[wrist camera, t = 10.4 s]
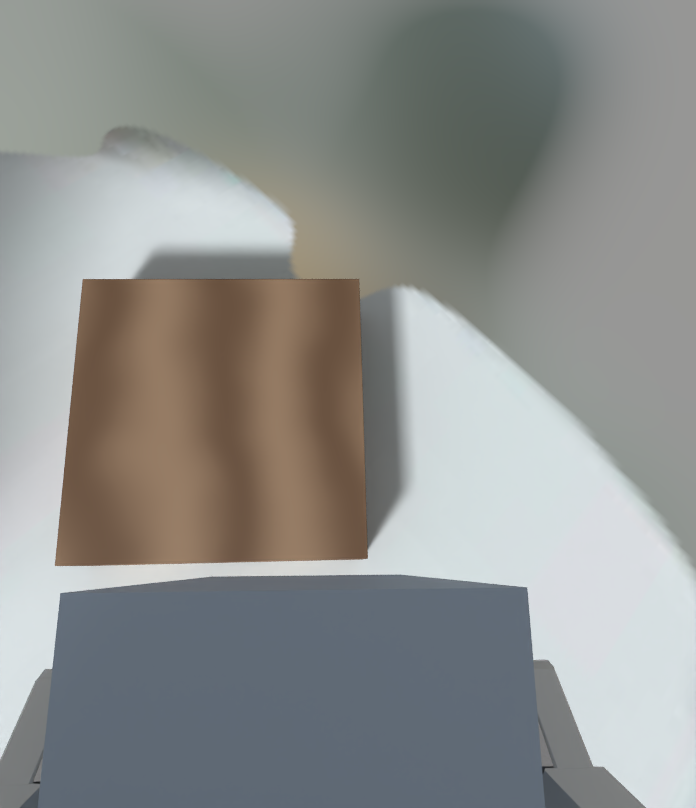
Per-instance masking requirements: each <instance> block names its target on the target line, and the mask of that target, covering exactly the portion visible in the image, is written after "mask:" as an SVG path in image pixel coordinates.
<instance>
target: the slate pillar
mask: <svg viewBox="0 0 696 808" xmlns="http://www.w3.org/2000/svg"><path fill="white" fill-rule="evenodd" d="M38 808H545V798H544V786H543V774H542V762H541V750H540V738H539V725H538V713H537V701H536V689H535V677H534V665H533V652H532V640H531V628H530V616H529V604H528V592H527V587H517V586H507V585H497V584H487V583H477V582H467V581H457V580H448V579H438V578H428V577H418V576H408V575H329V576H237V577H206V578H197V579H187V580H178V581H169V582H160V583H151V584H141V585H132V586H123V587H114V588H105V589H95V590H86V591H77V592H68V593H61V594H60V604H59V613H58V622H57V631H56V641H55V650H54V659H53V669H52V678H51V687H50V697H49V706H48V715H47V724H46V734H45V743H44V752H43V762H42V771H41V780H40V789H39V799H38Z"/></svg>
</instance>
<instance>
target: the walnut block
mask: <svg viewBox="0 0 696 808" xmlns="http://www.w3.org/2000/svg"><path fill="white" fill-rule="evenodd" d="M355 559H368V551H367V519H366V486H365V454H364V421H363V389H362V356H361V323H360V291H359V279H83V283H82V293H81V303H80V313H79V324H78V334H77V344H76V354H75V365H74V375H73V385H72V396H71V406H70V416H69V426H68V437H67V447H66V457H65V467H64V478H63V488H62V498H61V508H60V519H59V529H58V539H57V549H56V560H55V566H102V565H145V564H187V563H229V562H271V561H313V560H355Z"/></svg>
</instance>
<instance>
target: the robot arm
mask: <svg viewBox="0 0 696 808" xmlns="http://www.w3.org/2000/svg"><path fill="white" fill-rule="evenodd" d="M533 665H534V677H535V689H536V701H537V713H538V725H539V738H540V750H541V762H542V774H543V786H544V798H545V808H646V807H645V806H644V805H643V804H641V803H640V802H639V801H638V800H637V799H636V798H635V797H634V796H633V795H632V794H631V793H630V792H629V791H628V790H627V789H626V788H625V787H624V786H623V785H622V784H621V783H620V782H619V781H618V780H616V779H615V778H614V777H613V776H612V775H611V774H610V773H609V772H608V771H607V770H606V769H605V768H604V767H593V765H592V763H591V760H590V757H589V755H588V752H587V750H586V747H585V745H584V742H583V740H582V737H581V735H580V732H579V730H578V727H577V725H576V722H575V720H574V717H573V715H572V712H571V710H570V707H569V704H568V702H567V699H566V697H565V694H564V692H563V689H562V687H561V684H560V682H559V679H558V677H557V674H556V672H555V669H554V667H553V665H552V664H551V663H550V662H549V661H548V660H533ZM51 678H52V669H45V670H44V671H43V672H42V674H41V675H40V676H39V677H38V679H37V680H36V681H35V683H34V686H33V688H32V690H31V692H30V695H29V697H28V699H27V701H26V704H25V706H24V708H23V710H22V712H21V715H20V717H19V719H18V721H17V724H16V726H15V728H14V730H13V733H12V735H11V737H10V739H9V741H8V744H7V746H6V748H5V750H4V753H3V755H2V757H1V759H0V808H38V799H39V789H40V780H41V771H42V762H43V752H44V743H45V734H46V724H47V715H48V706H49V697H50V687H51Z"/></svg>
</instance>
